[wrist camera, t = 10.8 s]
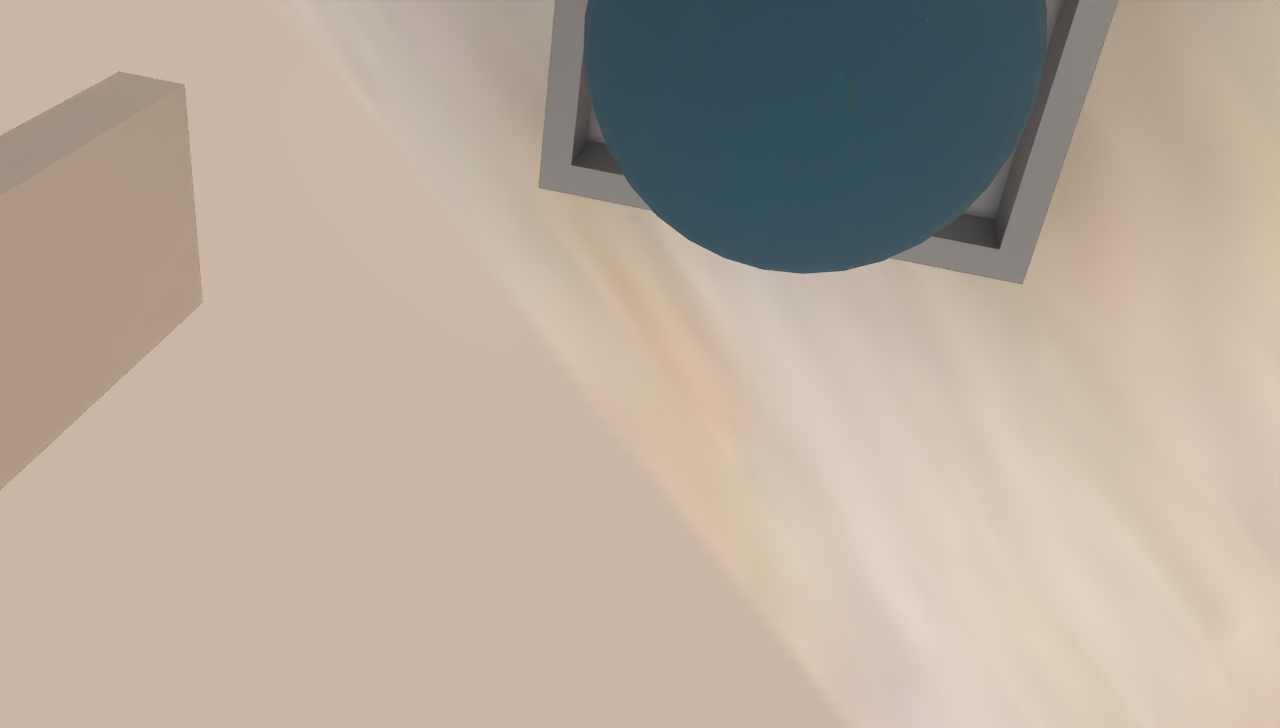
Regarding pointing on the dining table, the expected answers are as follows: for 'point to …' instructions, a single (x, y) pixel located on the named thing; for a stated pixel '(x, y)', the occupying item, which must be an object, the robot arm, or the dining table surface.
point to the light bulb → (812, 117)
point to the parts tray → (974, 243)
